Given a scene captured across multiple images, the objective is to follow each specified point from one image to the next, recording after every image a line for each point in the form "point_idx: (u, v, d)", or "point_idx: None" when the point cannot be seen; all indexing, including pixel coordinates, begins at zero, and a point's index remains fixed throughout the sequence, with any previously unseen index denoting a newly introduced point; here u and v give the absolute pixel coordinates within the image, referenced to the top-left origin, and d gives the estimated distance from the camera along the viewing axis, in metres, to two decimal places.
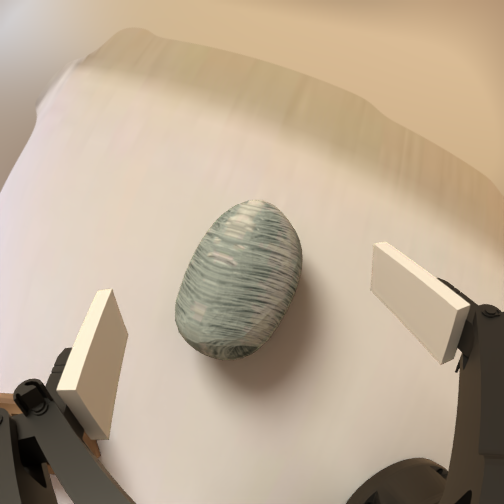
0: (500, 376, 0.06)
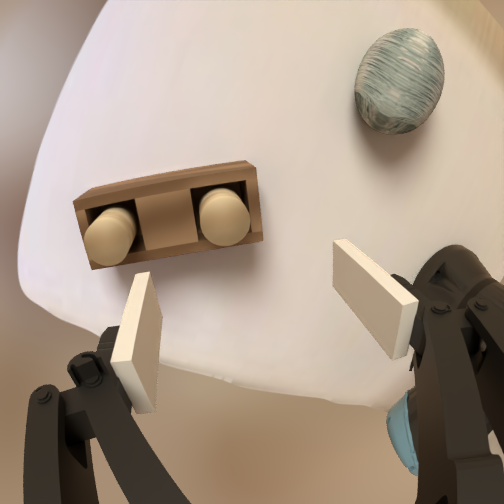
0: (459, 374, 0.07)
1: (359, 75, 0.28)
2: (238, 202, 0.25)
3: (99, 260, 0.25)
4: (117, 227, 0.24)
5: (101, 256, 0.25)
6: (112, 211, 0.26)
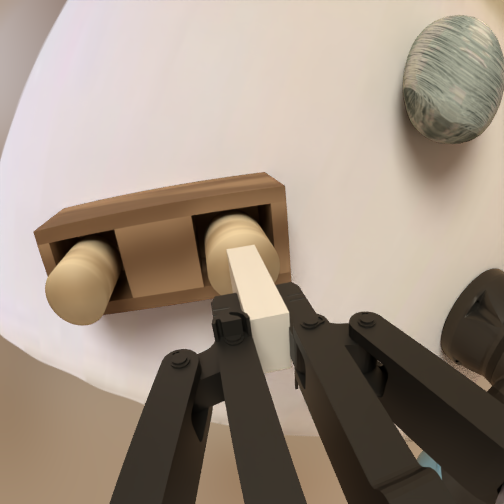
0: (354, 392, 0.07)
1: (410, 67, 0.20)
2: (263, 240, 0.17)
3: (68, 318, 0.17)
4: (87, 276, 0.16)
5: (70, 313, 0.17)
6: (84, 247, 0.18)
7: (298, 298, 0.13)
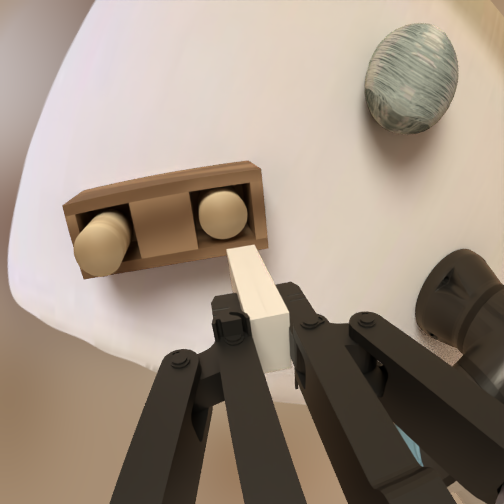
0: (354, 392, 0.07)
1: (370, 71, 0.26)
2: (235, 196, 0.26)
3: (90, 270, 0.22)
4: (109, 235, 0.22)
5: (92, 266, 0.22)
6: (104, 216, 0.24)
7: (298, 298, 0.13)
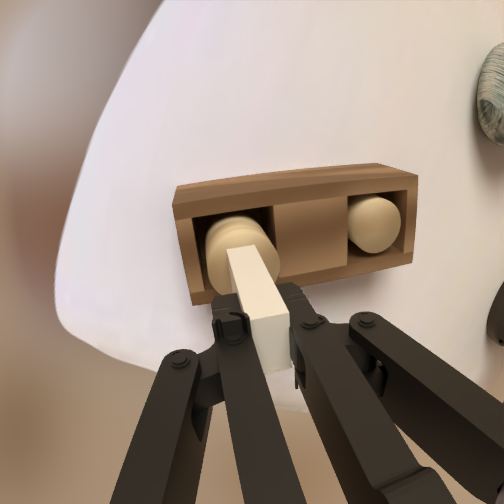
0: (354, 392, 0.07)
1: (487, 82, 0.21)
2: (392, 205, 0.21)
3: (229, 293, 0.18)
4: (266, 246, 0.17)
5: None
6: (241, 220, 0.19)
7: (298, 298, 0.13)
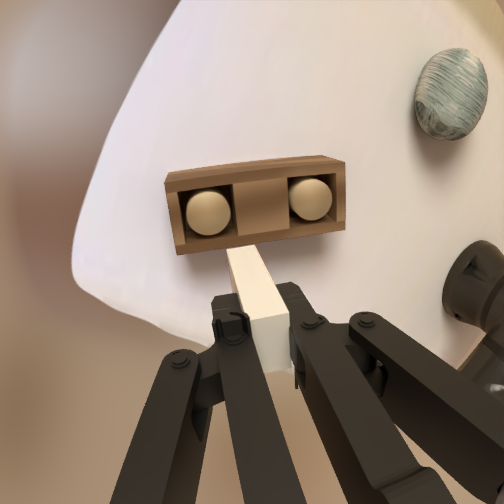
0: (354, 392, 0.07)
1: (421, 86, 0.30)
2: (324, 184, 0.30)
3: (199, 229, 0.29)
4: (221, 200, 0.29)
5: (202, 226, 0.29)
6: (208, 187, 0.31)
7: (298, 298, 0.13)
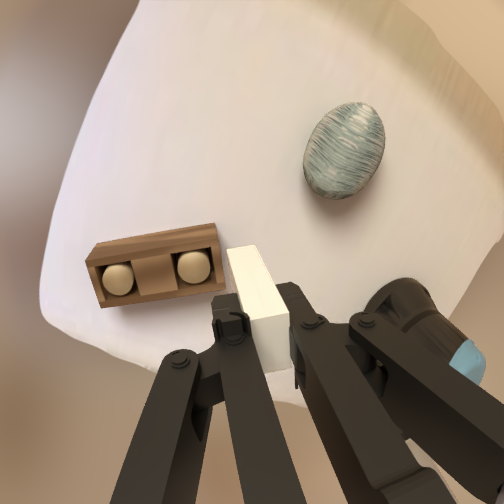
0: (354, 392, 0.07)
1: (306, 151, 0.39)
2: (201, 256, 0.38)
3: (113, 291, 0.38)
4: (124, 271, 0.37)
5: (114, 289, 0.38)
6: None
7: (298, 298, 0.13)
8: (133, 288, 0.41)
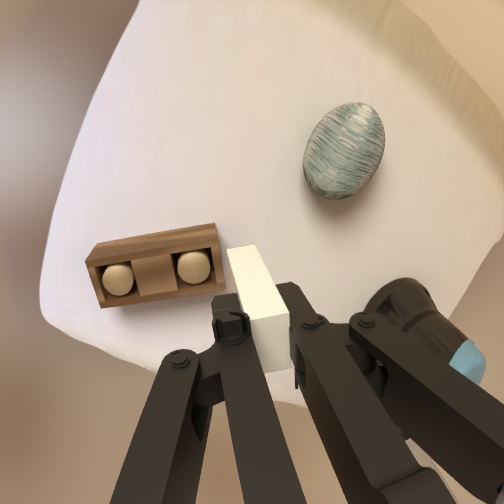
0: (354, 392, 0.07)
1: (306, 151, 0.39)
2: (201, 256, 0.38)
3: (113, 292, 0.38)
4: (124, 272, 0.37)
5: (114, 289, 0.38)
6: None
7: (298, 298, 0.13)
8: (133, 288, 0.41)
